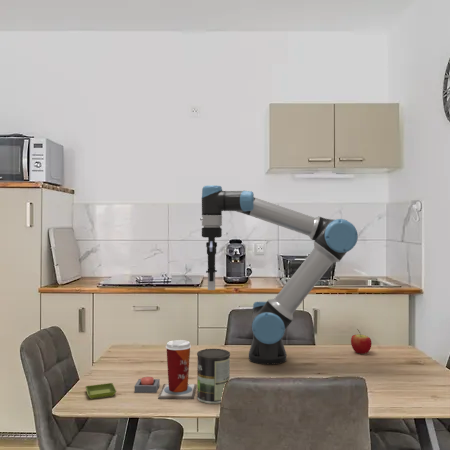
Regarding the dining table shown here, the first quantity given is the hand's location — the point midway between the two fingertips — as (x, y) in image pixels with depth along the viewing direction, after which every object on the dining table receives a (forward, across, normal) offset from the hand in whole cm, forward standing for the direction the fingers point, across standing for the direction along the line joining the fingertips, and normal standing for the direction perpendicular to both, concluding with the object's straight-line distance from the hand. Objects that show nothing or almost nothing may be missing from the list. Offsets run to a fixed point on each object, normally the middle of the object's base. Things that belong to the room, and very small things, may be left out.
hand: (211, 289), depth 180 cm
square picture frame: (+29, +26, -10) cm, 40 cm away
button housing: (+29, +23, -20) cm, 42 cm away
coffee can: (+30, +31, +2) cm, 43 cm away
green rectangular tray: (+30, +28, -34) cm, 53 cm away
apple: (+30, -22, +62) cm, 72 cm away
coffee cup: (+29, +26, -10) cm, 40 cm away
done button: (+29, +23, -20) cm, 42 cm away
